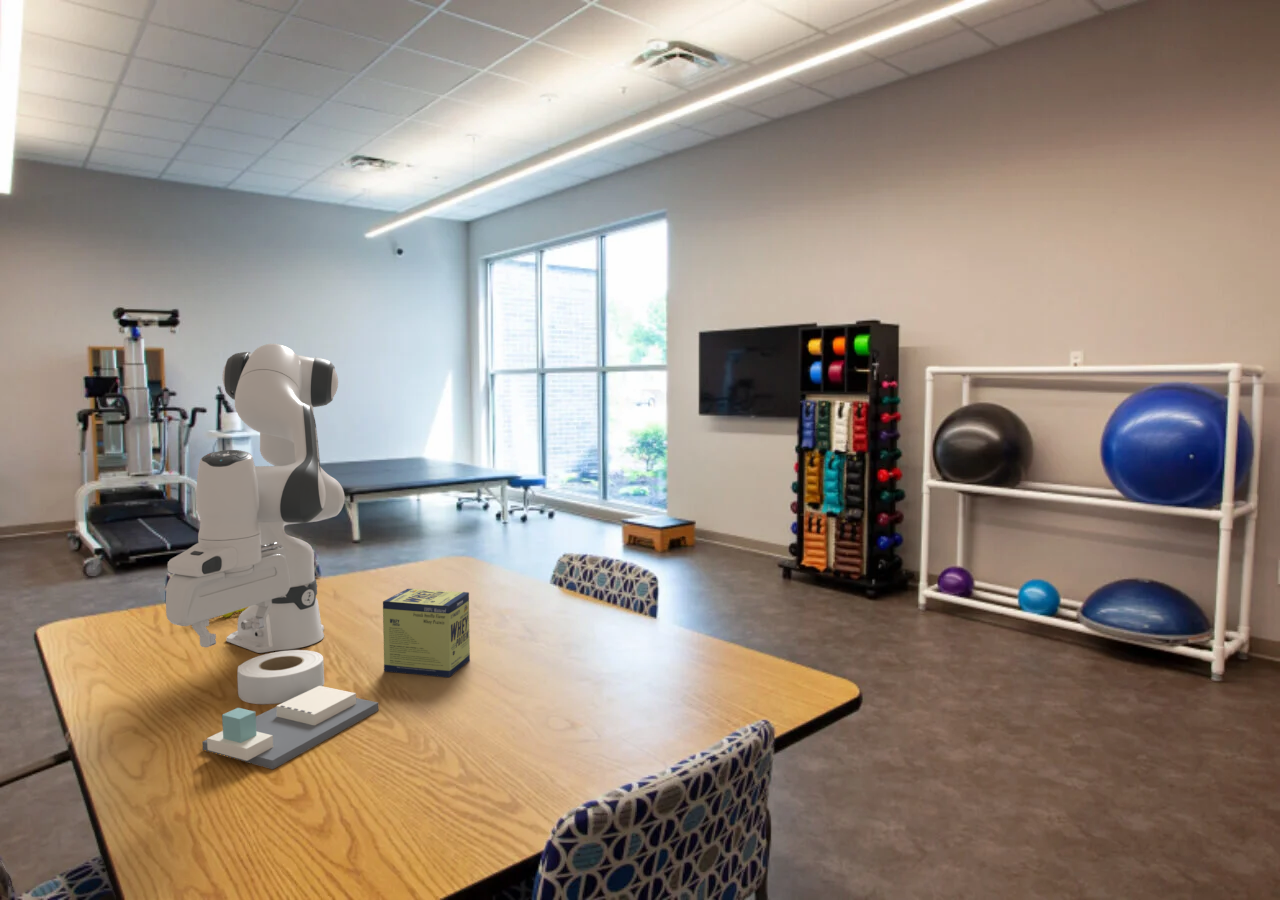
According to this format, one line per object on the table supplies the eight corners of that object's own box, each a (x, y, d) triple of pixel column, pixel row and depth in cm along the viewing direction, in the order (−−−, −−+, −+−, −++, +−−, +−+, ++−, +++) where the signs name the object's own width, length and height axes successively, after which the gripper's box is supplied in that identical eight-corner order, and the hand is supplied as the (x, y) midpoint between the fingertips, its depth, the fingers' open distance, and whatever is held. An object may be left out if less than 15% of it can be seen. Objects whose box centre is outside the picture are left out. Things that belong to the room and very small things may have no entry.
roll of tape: (241, 681, 159) (240, 654, 159) (323, 670, 165) (322, 644, 165) (234, 711, 145) (233, 682, 144) (325, 697, 151) (324, 670, 151)
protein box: (450, 678, 161) (449, 605, 159) (382, 672, 164) (380, 600, 162) (471, 660, 171) (470, 591, 170) (407, 654, 174) (405, 587, 173)
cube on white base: (207, 749, 126) (205, 714, 126) (234, 736, 131) (232, 702, 130) (247, 760, 123) (245, 724, 122) (273, 747, 127) (271, 712, 127)
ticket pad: (276, 716, 139) (276, 705, 138) (319, 695, 148) (319, 685, 148) (314, 725, 135) (314, 713, 135) (356, 703, 144) (355, 692, 144)
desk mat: (202, 750, 129) (202, 741, 129) (314, 696, 151) (314, 688, 151) (272, 769, 123) (272, 760, 123) (378, 710, 145) (378, 702, 145)
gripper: (270, 538, 134) (273, 615, 136) (156, 564, 116) (161, 653, 117) (297, 541, 132) (300, 620, 133) (185, 568, 113) (190, 660, 114)
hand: (234, 636), depth 125 cm, fingers open, 8 cm apart
